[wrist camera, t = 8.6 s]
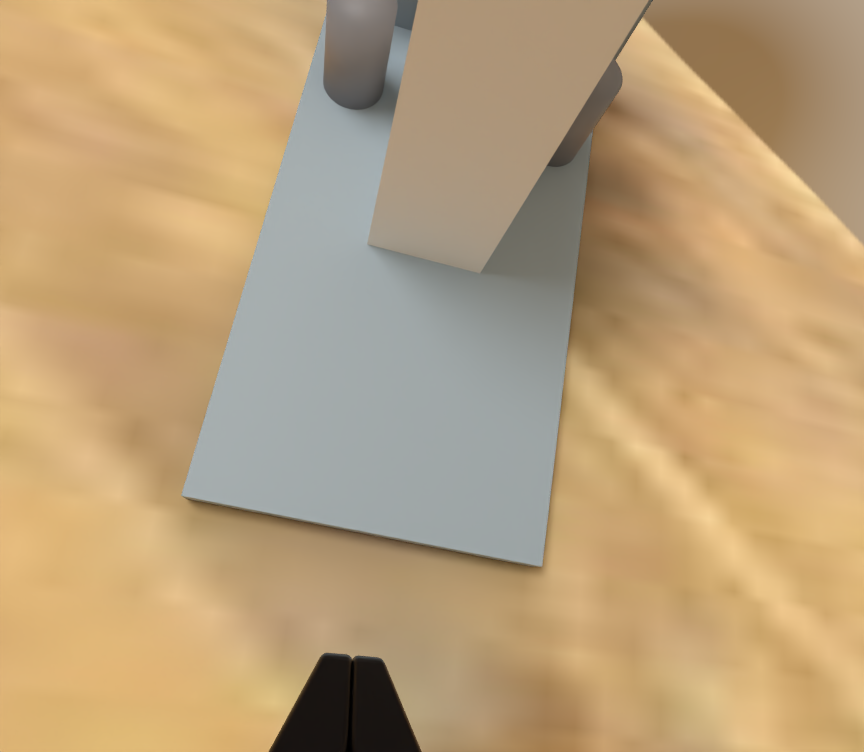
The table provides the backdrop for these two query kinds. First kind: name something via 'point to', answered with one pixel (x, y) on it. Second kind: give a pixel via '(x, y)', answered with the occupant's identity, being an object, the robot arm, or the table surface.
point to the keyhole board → (395, 332)
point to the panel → (486, 116)
